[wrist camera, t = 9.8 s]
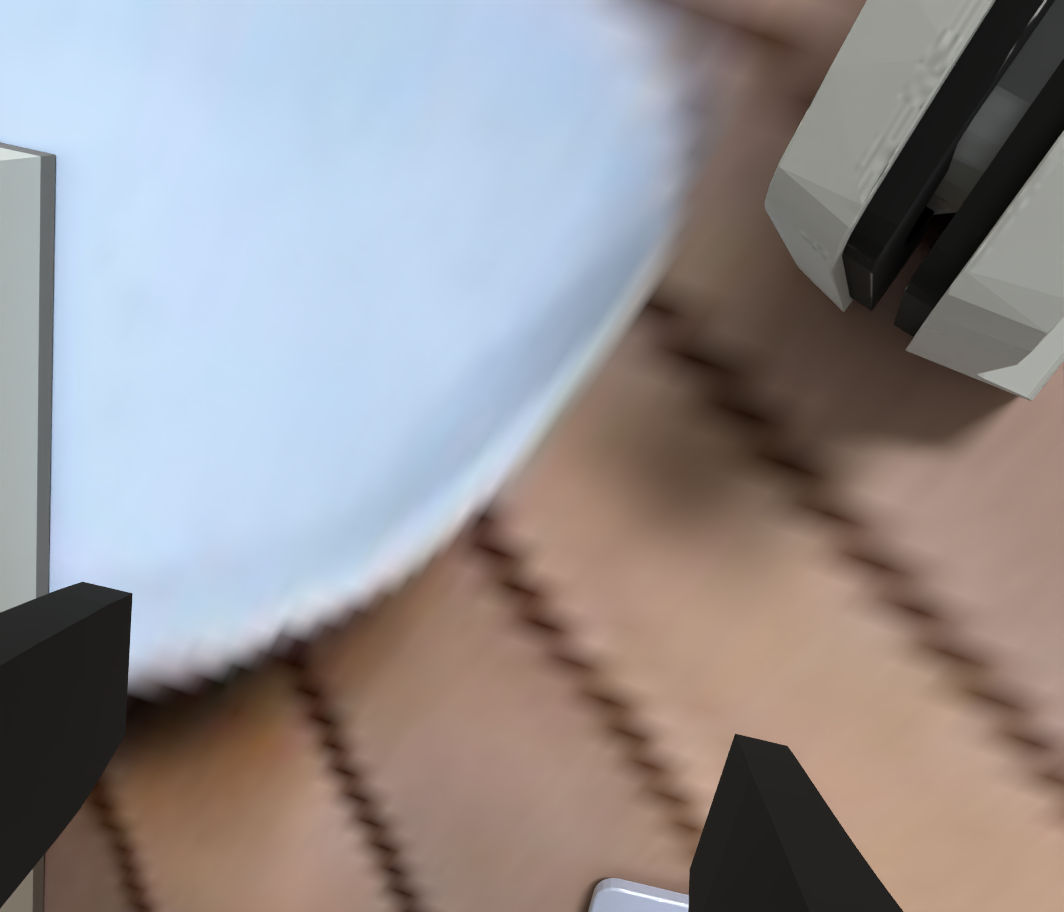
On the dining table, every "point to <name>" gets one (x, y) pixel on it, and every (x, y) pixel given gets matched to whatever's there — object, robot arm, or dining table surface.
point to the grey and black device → (941, 180)
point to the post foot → (25, 398)
